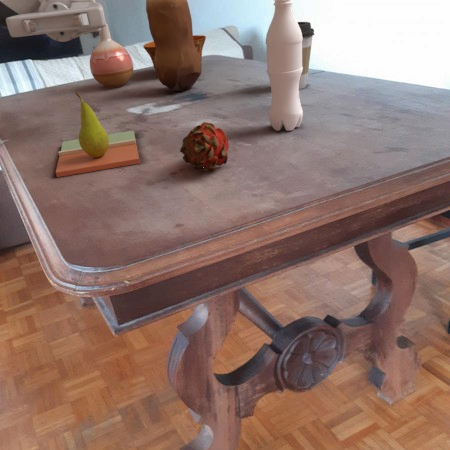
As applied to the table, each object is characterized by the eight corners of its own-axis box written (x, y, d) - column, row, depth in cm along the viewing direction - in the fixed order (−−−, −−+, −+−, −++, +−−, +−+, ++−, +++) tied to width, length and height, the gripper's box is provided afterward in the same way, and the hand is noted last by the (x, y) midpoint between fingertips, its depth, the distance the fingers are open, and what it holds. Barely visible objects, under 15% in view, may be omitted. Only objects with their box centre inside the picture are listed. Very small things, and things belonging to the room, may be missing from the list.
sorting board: (57, 177, 90) (54, 168, 89) (63, 146, 106) (61, 138, 105) (139, 163, 92) (138, 154, 91) (134, 134, 108) (132, 126, 107)
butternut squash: (173, 84, 148) (159, -11, 133) (211, 84, 143) (201, -15, 128) (149, 96, 138) (131, -5, 124) (189, 96, 133) (175, -9, 118)
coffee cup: (314, 80, 133) (315, 19, 125) (313, 90, 124) (314, 25, 116) (274, 83, 136) (272, 23, 127) (270, 93, 127) (267, 29, 118)
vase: (111, 80, 163) (98, 22, 152) (144, 80, 157) (133, 19, 147) (86, 90, 153) (70, 28, 143) (120, 91, 148) (106, 26, 137)
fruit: (106, 161, 92) (89, 96, 85) (78, 162, 93) (60, 98, 86) (117, 151, 96) (102, 88, 89) (91, 152, 98) (74, 90, 91)
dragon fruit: (208, 189, 82) (203, 174, 93) (244, 154, 80) (235, 143, 91) (173, 153, 79) (172, 142, 90) (209, 116, 77) (204, 109, 88)
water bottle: (264, 132, 100) (258, -8, 85) (274, 122, 105) (269, -12, 91) (298, 133, 97) (297, -11, 83) (306, 122, 103) (306, -15, 88)
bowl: (136, 76, 164) (130, 44, 159) (184, 63, 175) (179, 33, 169) (173, 81, 151) (168, 47, 145) (221, 67, 162) (218, 34, 156)
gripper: (7, 8, 103) (-5, 12, 92) (101, -3, 106) (100, 0, 95) (17, 40, 107) (7, 48, 96) (107, 29, 109) (108, 35, 98)
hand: (54, 24), depth 95 cm, fingers open, 8 cm apart
